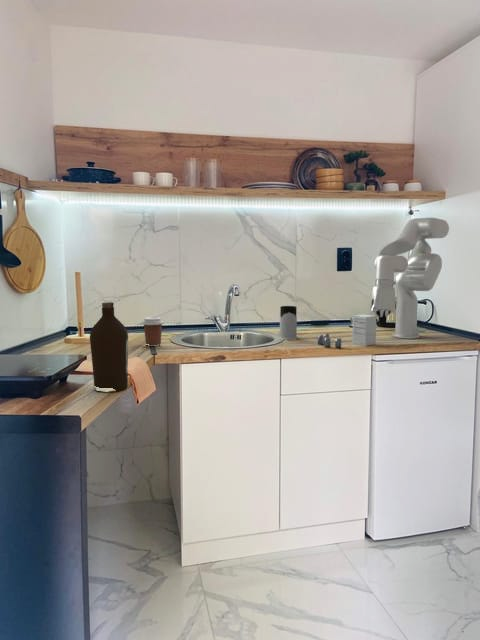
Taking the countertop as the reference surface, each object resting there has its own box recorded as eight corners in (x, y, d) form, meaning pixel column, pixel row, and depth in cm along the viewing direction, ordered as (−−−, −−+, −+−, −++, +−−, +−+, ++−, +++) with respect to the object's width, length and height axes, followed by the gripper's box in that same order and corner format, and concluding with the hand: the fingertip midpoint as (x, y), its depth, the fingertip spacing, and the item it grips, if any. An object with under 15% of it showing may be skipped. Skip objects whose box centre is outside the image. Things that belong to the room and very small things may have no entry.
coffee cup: (141, 344, 206) (140, 317, 204) (161, 342, 209) (161, 316, 207) (144, 347, 197) (143, 319, 196) (166, 346, 200) (165, 318, 199)
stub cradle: (327, 342, 209) (327, 333, 208) (342, 348, 194) (342, 339, 194) (314, 342, 207) (314, 334, 207) (328, 349, 193) (328, 339, 193)
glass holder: (279, 340, 215) (279, 307, 213) (277, 335, 229) (277, 304, 227) (298, 340, 215) (298, 307, 213) (295, 335, 229) (295, 304, 227)
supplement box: (362, 341, 210) (363, 313, 208) (376, 344, 204) (377, 315, 202) (351, 343, 205) (352, 315, 204) (365, 346, 200) (366, 316, 198)
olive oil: (97, 395, 129) (93, 305, 125) (88, 386, 138) (84, 302, 135) (134, 390, 134) (131, 303, 131) (123, 381, 143) (120, 300, 140)
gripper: (395, 283, 208) (392, 324, 210) (364, 283, 205) (362, 324, 207) (404, 284, 201) (402, 326, 203) (373, 283, 198) (370, 326, 200)
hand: (382, 325), depth 205 cm, fingers closed
